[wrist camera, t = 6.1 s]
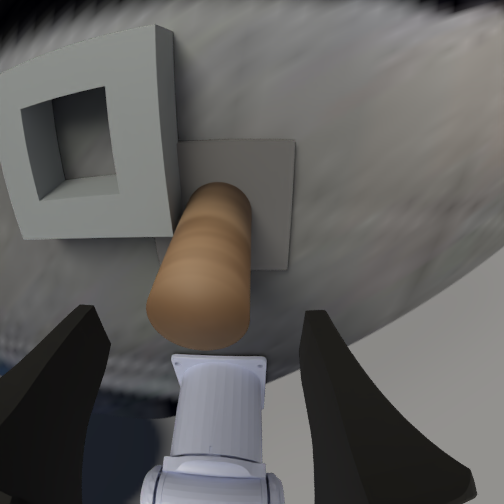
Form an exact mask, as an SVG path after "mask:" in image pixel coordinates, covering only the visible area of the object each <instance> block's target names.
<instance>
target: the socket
mask: <svg viewBox="0 0 504 504" xmlns="http://www.w3.org/2000/svg"><path fill="white" fill-rule="evenodd" d="M103 86H105V92H106V103H107V112H108V121H109V129H110V137H111V144H112V151H113V158H114V164H115V170H116V174H114V175H104V176H94V177H85V178H77V179H69V180H65V177H64V172H63V168H62V163H61V158H60V152H59V147H58V141H57V135H56V129H55V122H54V115H53V108H52V99H54V98H58V97H61V96H65V95H69V94H73V93H76V92H81V91H85V90H89V89H93V88H98V87H103ZM177 142H178V132H177V118H176V102H175V83H174V58H173V31H171V30H168V29H166V28H163V27H161V26H158V25H156V24H154V25H148V26H143V27H137V28H133V29H128V30H123V31H119V32H114V33H110V34H106V35H103V36H99V37H95V38H91V39H88V40H85V41H81V42H78V43H75V44H72V45H69V46H66V47H63V48H60V49H57V50H54V51H51V52H49V53H46V54H43V55H41V56H38V57H36V58H33V59H31V60H29V61H26V62H24V63H22V64H19V65H17V66H15V67H13V68H11V69H8V70H6V71H4V72H2V73H0V162H1V166H2V171H3V175H4V179H5V182H6V186H7V190H8V193H9V197H10V200H11V203H12V207H13V210H14V213H15V216H16V219H17V222H18V225H19V228H20V231H21V234H22V236H23V239H24V240H32V239H68V238H114V237H173V235H174V233H175V230H176V228H177V226H178V223H179V221H180V219H181V217H182V214H183V205H182V196H181V186H180V176H179V166H178V155H177Z"/></svg>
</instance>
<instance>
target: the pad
mask: <svg viewBox="0 0 504 504" xmlns="http://www.w3.org/2000/svg"><path fill="white" fill-rule="evenodd" d="M177 155H178V166H179V176H180V186H181V196H182V205H183V212H184V210H185V208H186V205H187V203H188V201H189V199H190V197H191V195H192V194H193V193H194V192H195V191H196V190H197V189H198V188H199V187H201V186H203V185H205V184H208V183H212V182H224V183H228V184H231V185H233V186H235V187H237V188H238V189H240V190H241V191H242V192H243V193H244V194H245V195H246V197H247V198H248V200H249V202H250V205H251V210H252V219H251V270H287V266H288V254H289V240H290V226H291V211H292V195H293V177H294V158H295V140H284V139H223V140H197V141H179V142H177ZM154 238H155V244H156V249H157V254H158V259H159V264H160V266H161V264H162V261H163V259H164V256H165V254H166V252H167V249H168V247H169V244H170V242H171V240H172V237H154Z"/></svg>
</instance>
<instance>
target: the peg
mask: <svg viewBox="0 0 504 504" xmlns="http://www.w3.org/2000/svg"><path fill="white" fill-rule="evenodd" d="M251 219H252V210H251V205H250V202H249V200H248V198H247V197H246V195H245V194H244V193H243V192H242V191H241V190H240V189H238V188H237V187H235V186H233V185H231V184H228V183H224V182H212V183H208V184H205V185H203V186H201V187H199V188H198V189H197V190H196V191H195V192H194V193H193V194H192V195H191V197H190V199H189V201H188V203H187V205H186V208H185V210H184V212H183V214H182V217H181V219H180V221H179V223H178V226H177V228H176V230H175V233H174V235H173V237H172V240H171V242H170V244H169V247H168V249H167V252H166V254H165V256H164V259H163V261H162V264H161V266H160V269H159V271H158V274H157V276H156V279H155V281H154V284H153V287H152V289H151V292H150V294H149V297H148V300H147V304H146V310H147V315H148V318H149V320H150V322H151V324H152V325H153V327H154V328H155V329H156V330H157V332H158V333H160V334H161V335H162V336H163V337H165V338H166V339H167V340H169V341H171V342H173V343H175V344H177V345H179V346H182V347H185V348H189V349H194V350H217V349H222V348H225V347H228V346H230V345H232V344H234V343H236V342H237V341H239V340H240V339H241V338H242V337H243V336H244V335H245V333H246V331H247V329H248V327H249V322H250V275H251Z"/></svg>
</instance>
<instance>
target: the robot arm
mask: <svg viewBox="0 0 504 504" xmlns="http://www.w3.org/2000/svg"><path fill="white" fill-rule="evenodd" d="M110 346H111V343H110V341H109V339H108V337H107V334H106V332H105V330H104V328H103V326H102V323H101V321H100V319H99V317H98V314H97V312H96V310H95V307H94V306H93V305H79V306H78V307H77V308H75V309H74V310H73V311H72V312H71V313H70V314H69V315H68V316H67V317H66V318H65V319H64V320H63V321H62V322H61V323H59V324H58V325H57V326H56V327H55V328H54V329H53V330H52V331H51V332H50V333H49V334H48V335H47V336H46V337H45V338H44V339H43V340H42V341H41V342H40V343H39V344H38V345H37V346H36V347H35V348H34V349H33V350H32V351H31V352H30V353H29V354H27V355H26V356H25V357H24V358H23V359H22V360H21V361H20V362H19V363H18V364H17V365H16V366H14V367H13V368H12V369H11V370H10V371H8V372H7V373H6V374H5V375H3V376H2V377H1V378H0V504H82V489H81V487H82V485H81V484H82V462H83V452H84V444H85V438H86V431H87V426H88V422H89V418H90V415H91V412H92V409H93V406H94V402H95V399H96V396H97V393H98V390H99V387H100V384H101V381H102V378H103V375H104V372H105V369H106V365H107V361H108V356H109V351H110ZM299 357H300V371H301V381H302V386H303V391H304V397H305V403H306V408H307V413H308V419H309V424H310V430H311V437H312V444H313V459H314V460H313V461H314V487H315V504H463V503H465V502H467V501H469V500H472V499H474V498H475V497H476V496H477V491H476V487H475V482H474V479H473V476H472V473H471V470H470V469H469V468H467V467H466V466H464V465H462V464H461V463H459V462H458V461H456V460H455V459H453V458H452V457H450V456H449V455H448V454H446V453H445V452H444V451H442V450H441V449H440V448H438V447H437V446H436V445H435V444H433V443H432V442H431V441H430V440H429V439H427V438H426V437H425V436H424V435H423V434H422V433H420V431H418V430H417V429H416V428H415V427H414V426H413V425H412V424H410V422H408V421H407V420H406V419H405V418H404V417H403V416H402V415H401V414H400V412H399V411H398V410H397V409H396V408H395V407H394V406H393V405H392V404H391V403H390V402H389V401H388V400H387V398H386V397H385V396H384V395H383V394H382V393H381V391H380V390H379V389H378V388H377V387H376V385H375V384H374V383H373V381H372V380H371V379H370V378H369V376H368V375H367V374H366V372H365V371H364V370H363V368H362V367H361V366H360V364H359V363H358V361H357V360H356V359H355V357H354V355H353V354H352V353H351V351H350V350H349V348H348V347H347V345H346V344H345V342H344V340H343V339H342V337H341V336H340V334H339V332H338V331H337V329H336V328H335V326H334V324H333V322H332V321H331V319H330V317H329V315H328V314H327V312H326V311H325V310H311V311H306V312H305V318H304V324H303V330H302V336H301V342H300V348H299ZM171 361H172V364H173V367H174V370H175V373H176V375H177V378H178V381H179V384H180V387H181V388H180V394H179V400H178V406H177V413H176V419H175V426H174V433H173V439H172V447H171V454H170V457H169V456H165V457H164V462H163V465H156V466H155V467H154V468H153V469H151V470H150V471H149V472H148V473H147V475H146V477H145V479H144V482H143V486H142V490H141V498H140V504H285V502H284V491H283V486H282V482H281V480H280V479H279V478H277V477H276V475H275V474H274V473H266V464H265V463H262V423H261V422H262V421H261V420H262V417H261V410H262V409H263V408H264V397H265V381H266V364H267V360H266V358H265V357H263V356H210V355H187V354H174V355H172V358H171Z"/></svg>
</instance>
